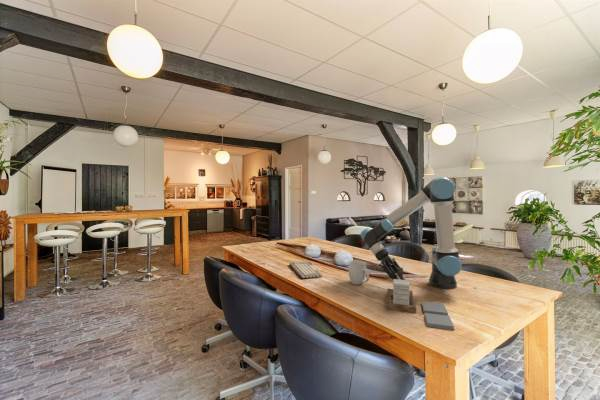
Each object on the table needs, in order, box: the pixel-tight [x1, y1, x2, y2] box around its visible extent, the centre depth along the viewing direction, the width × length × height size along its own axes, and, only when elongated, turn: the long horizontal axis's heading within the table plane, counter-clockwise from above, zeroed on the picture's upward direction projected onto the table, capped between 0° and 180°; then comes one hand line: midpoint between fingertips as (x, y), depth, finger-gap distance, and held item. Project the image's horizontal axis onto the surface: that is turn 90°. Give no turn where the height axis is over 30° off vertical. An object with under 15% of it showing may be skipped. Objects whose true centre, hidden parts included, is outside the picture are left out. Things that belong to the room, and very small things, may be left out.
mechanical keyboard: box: [287, 260, 327, 280], centre depth 198 cm, size 38×19×3 cm, turn 17°
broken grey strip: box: [421, 300, 455, 331], centre depth 125 cm, size 10×24×2 cm, turn 161°
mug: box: [347, 259, 370, 286], centre depth 168 cm, size 15×11×13 cm
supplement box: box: [392, 279, 410, 306], centre depth 134 cm, size 7×7×13 cm
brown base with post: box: [386, 267, 417, 314], centre depth 142 cm, size 13×26×14 cm, turn 161°
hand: (406, 286), depth 148 cm, fingers closed on brown base with post, 4 cm apart
